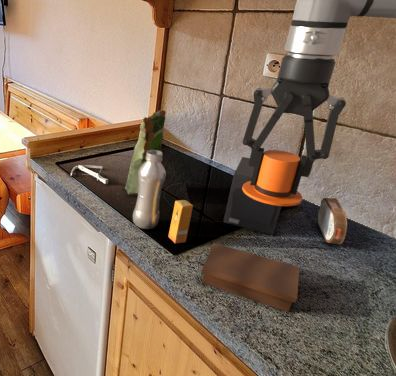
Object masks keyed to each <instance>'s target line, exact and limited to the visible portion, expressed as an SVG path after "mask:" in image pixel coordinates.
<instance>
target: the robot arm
mask: <svg viewBox="0 0 396 376" xmlns="http://www.w3.org/2000/svg"><path fill="white" fill-rule="evenodd" d="M351 17H357V18H358V17H359V18H361V17H362V18H363V17H366V18H367V17H368V18H369V17H370V18H383V19H384V18H386V19H396V0H296V2H295V7H294V11H293V16H292V20H291V23H290V26H289V30H288V34H287V37H286V38H287V39H286V42H285V46H284V52H286V54H284V55H283V56H282V58H281V62H280V67H279V70H278V73H277V78H276V81H275V82H274V84H273V85H272V86H271V87H266V88H261V87H258V88H256V89H255V90H254V91H253V107H252V109H251V114H250V116H249V119H248V122H247V126H246V129H245V133H244V135H243V139H242V145H243V146H247V147H249V148H250V150H251V151H250V156H249V158H250V159H249V166H252V167H254V171H253V175H252V179H251V183H250V185H253V186H255V182H256V179H257V175H258V171H259V168H260V164H261V160H262V156H263V153H264V151H265V147H262V146H263V144H264V143H265V142H266V139H267V138H268V137H269V135H270V134H271V132H272V131H273V129H274V127H275V126H276V124H277V123H278V122H279V120H280V119H281V118H282V116H283V114H287V115H289V114H295V115H297V116H303V123H304V124H303V125H304V135H305V150H306V155H305V154H301V155H300V158H301V160H300V164H299V167H298V170H297V174H296V177H295V180H294V184H293V187H292V191H291V194H294V195H296V192H297V191H298V189H299V186H300V182H301V178H302V177H303V178H309V176H311V172H312V168H313V165H314V163H315V161H316V160H320V159H322V160H327V159H328V158H329V157H330V153H331V150H332V149H331V148H332V146H333V145H332V144H333V140H334V136H335V132H336V129H337V124H338V121H339V115H340V114H341V112H343V110H344V108H345V107H346V105H347V102H346V99H345V98H344V97H338V96H334V95H332V94H330V90H329V86H330V82H331V79H332V77H333V73H334V71H335V66H336V63H337V61H336V60H335V59H334V58H333V57H336V56H337V55H339V53H340V50H341V47H342V44H343V41H344V37H345V33H346V30H347V27H348V23H349V20H350V18H351ZM270 95H271V96H272V98H273V100H274V102H275V104H276V108H275V110H274V111H273V113H272V114H271V116H270V117H269V118H268V120H267V122H266V123H265V125H264V127H263V129H262V130H261V131H260V133H259V135H257V137H256V139H254V138H253V135H254V133H255V129H256V126H257V123H258V120H259V117H260V114H261V111H262V108H263V104H264V103H265V102H267V100H268V98H269V96H270ZM325 102H327V110H329V112H328V115H327V121H326V125H325V129H324V132H323V133H324V134H323V138H322V142H321V145H320V149H316V144H315V141H316V140H315V127H314V112H313V111H315V110H316V109H317V108H319V107H320V106H321V105H322V104H324V103H325Z"/></svg>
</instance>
